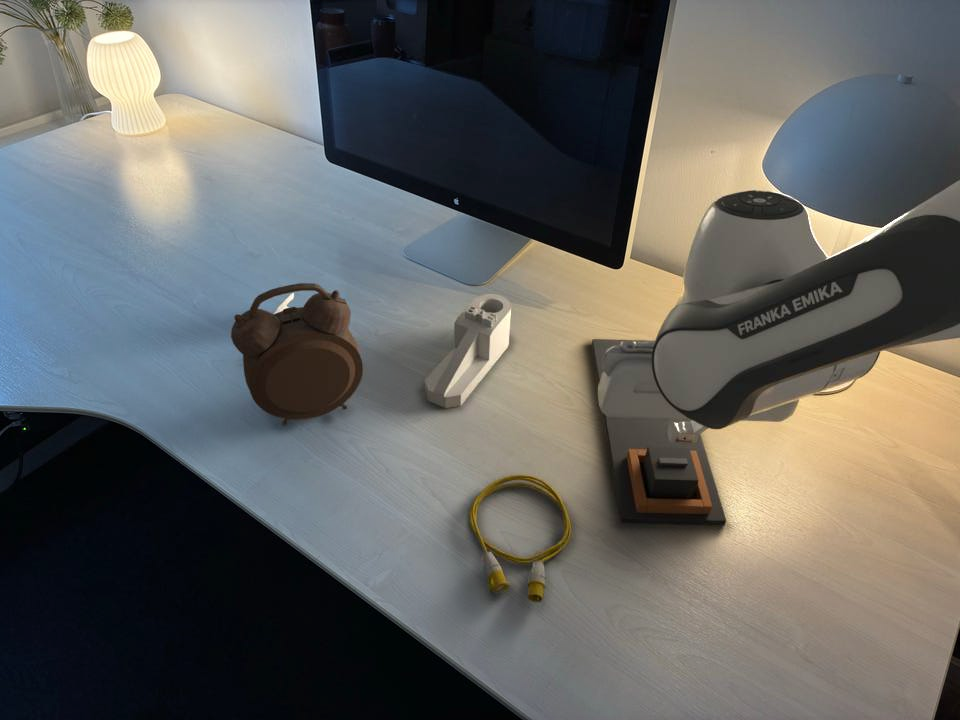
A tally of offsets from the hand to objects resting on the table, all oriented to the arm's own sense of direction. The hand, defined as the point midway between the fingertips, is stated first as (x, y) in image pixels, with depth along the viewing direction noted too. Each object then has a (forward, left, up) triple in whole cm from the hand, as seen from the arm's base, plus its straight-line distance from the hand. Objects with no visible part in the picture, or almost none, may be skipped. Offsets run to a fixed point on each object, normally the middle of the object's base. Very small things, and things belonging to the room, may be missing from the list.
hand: (681, 438), depth 76 cm
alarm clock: (+38, +28, -10) cm, 48 cm away
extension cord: (+6, +19, -10) cm, 22 cm away
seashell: (+56, +24, -10) cm, 62 cm away
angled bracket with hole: (+32, +6, -10) cm, 34 cm away
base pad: (+8, -7, -9) cm, 14 cm away
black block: (0, 0, -8) cm, 8 cm away
